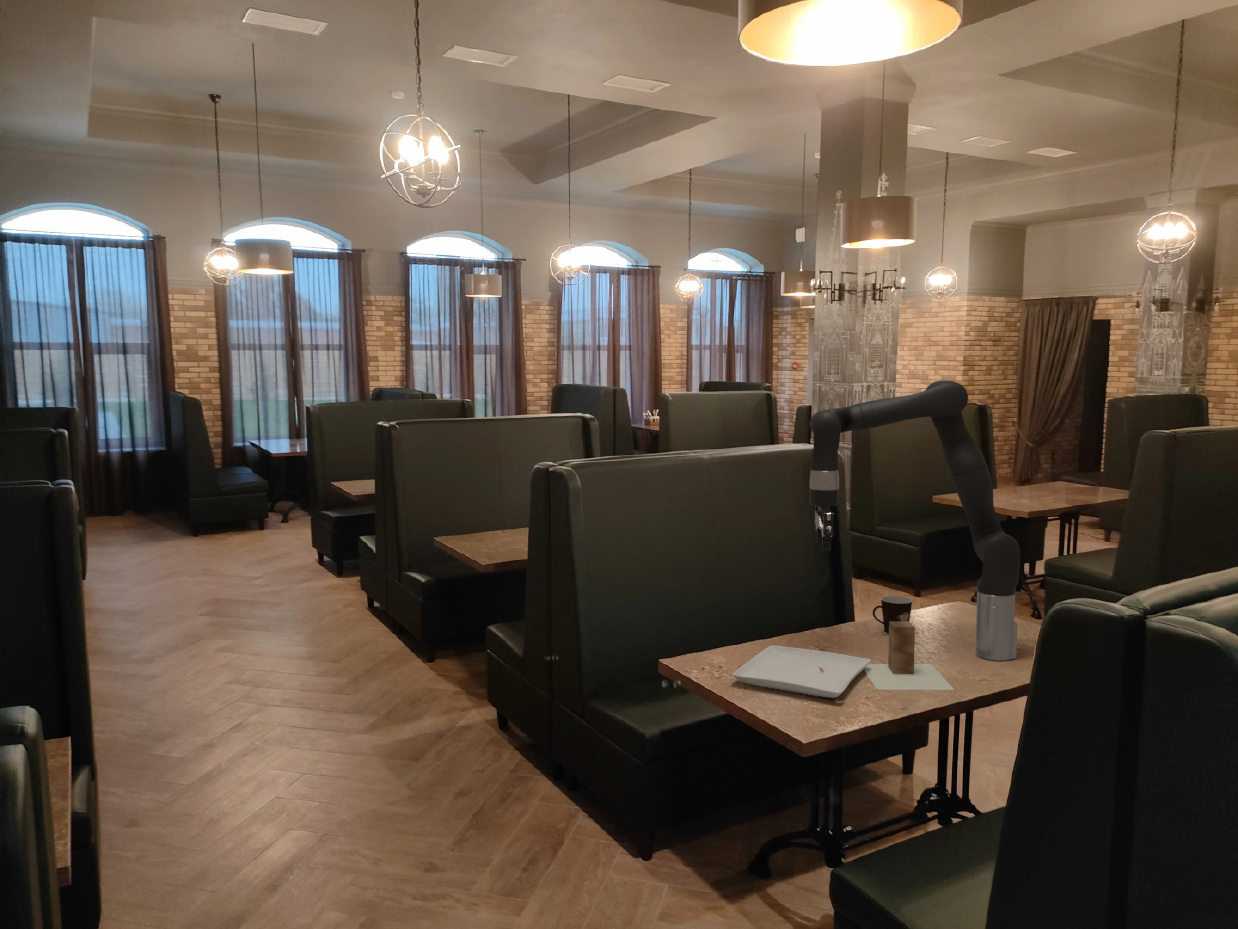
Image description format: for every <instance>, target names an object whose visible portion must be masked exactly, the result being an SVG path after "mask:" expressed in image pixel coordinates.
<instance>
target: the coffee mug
mask: <svg viewBox="0 0 1238 929" xmlns="http://www.w3.org/2000/svg"><path fill="white" fill-rule="evenodd" d="M880 601H881V605H876V606H875V607H874V608H873V609H872V616H873V618H874V619H875V621H877V622H879V623H881V625H883V631H884V632H886V633H888V634H889V621H909V622H910V620H911V613H912V604H913V599H912V598H910V597H906V596H901V595H884V596H882V597H880ZM879 608H880V609H881V611H882V620H881V619H879V618H878V616H876V611H877V610H878V609H879Z"/></svg>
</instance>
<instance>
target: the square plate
mask: <svg viewBox="0 0 1238 929" xmlns="http://www.w3.org/2000/svg"><path fill="white" fill-rule="evenodd" d="M871 661H872V659H870V658H865V657H858V656H855V655H854V656H852V655H849V654H848V655H847V654H841V653H837V652H830V651H829V652H828V651H823V650H816V649H807V648H799V647H792V646H791V647H790V646H783V645H776V644H775V645H773V644H772V645H769V646H767V647H766V648H764V649H763V650H762V651H760V652H759V653H757V654H756V655H754V656H753V657H752V658H751V659H750V660H748V661H747V662H745V663H744V664H743V665H742V666H740V667H739V668H737V669H736V670H735V671H734V672H733V673H732V674H731V675H732V677H733V678H735V680H737V681H739V682H741V683H744V684H747V685H752V686H758V687H762V688H766V687H768V688H767V689H772V688H774V689H773V690H777V689H779V691H783V690H784V692H789V693H796V694H800V693H802V695H807V694H808V695H807V696H811V695H813V696H814V697H819V696H821V697H823V698H829V699H830V698H831V699H834V698H838V697H839V696H841V694H842V693H844V692H845V690H846V689H847V687H848V686H849V685H850V684H851V682H852V681H853V680H854V679H855V678H856V677H857V676H858V675H860V674H861V673H862V671H864V668H865V667H866V666H867V665H868V664H871ZM821 669H822V670H823V671H821ZM813 696H812V697H813ZM821 697H819V698H821Z"/></svg>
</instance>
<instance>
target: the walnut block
mask: <svg viewBox="0 0 1238 929" xmlns="http://www.w3.org/2000/svg"><path fill="white" fill-rule="evenodd" d="M915 629H916V627H915V626H914V625H913V623H911V622H910V621H889V635H888V663H887V664H888V668H889V669H890V670H891V672H892V673H893V674H914V664H915V647H916V646H915V645H916V644H915V642H916V641H915V640H916V639H915V635H916V630H915Z"/></svg>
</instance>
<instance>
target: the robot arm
mask: <svg viewBox="0 0 1238 929" xmlns="http://www.w3.org/2000/svg"><path fill="white" fill-rule="evenodd" d="M968 402H969V394H968V391H967V389H966V388H965V387H964V385H962V384H960V383H959V382H956V381H953V380H937V381H934V382H931V383H930V384H929V385H928V386H927V388H926V389H925V390H923V391H921V392H915V393H912V394H907V395H904V396H895V397H887V398H880V399H874V400H868V401H865V402H859V403H855V404H852V405H848V406H844V407H843V406H841V407H835V408H828V409H824V410H823V409H822V410H820V411H819V410H818V411H816V412H815V413H814V414H813V415H812V416H811V418H810V419H809V429H810V431H811V432H812V434H813V448H812V450H811V454H810V474H809V504H810V505H811V506H814V524H813V526H814V527H815V531H816V544H817V545H818V546H822V547H821V550H822V551H823V552H830V551H832V537H833V536H834V534H835V531H834V530H835V527H834V525H835V524H834V522H835V521H834V518H835V517H834V516H835V513H834V512H833V511H831V507H836V506H838V505H839V504H840V476H839V448H840V441H841V435H842V433H846V432H859V431H864V430H869V429H873V428H874V429H875V428H878V427H882V426H887V425H891V424H894V423H899V422H904V421H908V420H914V419H922V418H929V417H930V419H931V421H932V423H933V426H934V428H935V429H936V432H937V434H938V435H937V436H938V437H939V441H940V444H941V447H942V451H943V455H944V458H945V461H946V464H947V467H948V471H949V474H950V476H951V479H952V483H953V485H954V489H955V491H956V493H957V496H958V499H959V502H960V504H961V506H962V509H963V511H964V513H965V515H966V519H967V521H968V525H969V526H968V527H969V530H970V535H971V538H972V539H971V540H972V544H973V548H974V551H975V554H976V556H977V557H978V559H980V560H981V561H982V575H981V577H980V578H979V579H978V581H977V583H976V584H977V588H976V617H975V618H976V619H975V621H976V622H975V623H976V624H975V648H974V649H975V651H974V652H975V655H976V656H977V657H979V658H981V659H984V660H990V661H999V662H1001V661H1009V660H1016V659H1017V648H1018V646H1017V643H1018V623H1017V622H1016V621H1015V613H1016V608H1015V606H1016V588H1017V586H1018V583H1019V579H1020V578H1019V577H1020V568H1021V549H1020V545H1019V543H1018V541H1017V540H1016V539H1015V538H1014V537H1013V536H1011V535H1009V534H1007V533H1005V531H1004V530H1003V528H1002V525H1001V523H1000V521H999V519H998V516H997V514H996V510H995V505H994V504H995V503H994V485H993V479H992V476H991V472H990V469H989V467H988V464H987V461H986V459H985V456H984V454H983V452H982V451H981V448H980V447H979V446H978V444H977V442H976V441H975V440H974V437H973V436H972V435H971V434H970V431H969V429H968V428H967V425H966V423H965V419H964V416H963V413H962V411H964V410H965V408H966V407H967V405H968Z"/></svg>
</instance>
